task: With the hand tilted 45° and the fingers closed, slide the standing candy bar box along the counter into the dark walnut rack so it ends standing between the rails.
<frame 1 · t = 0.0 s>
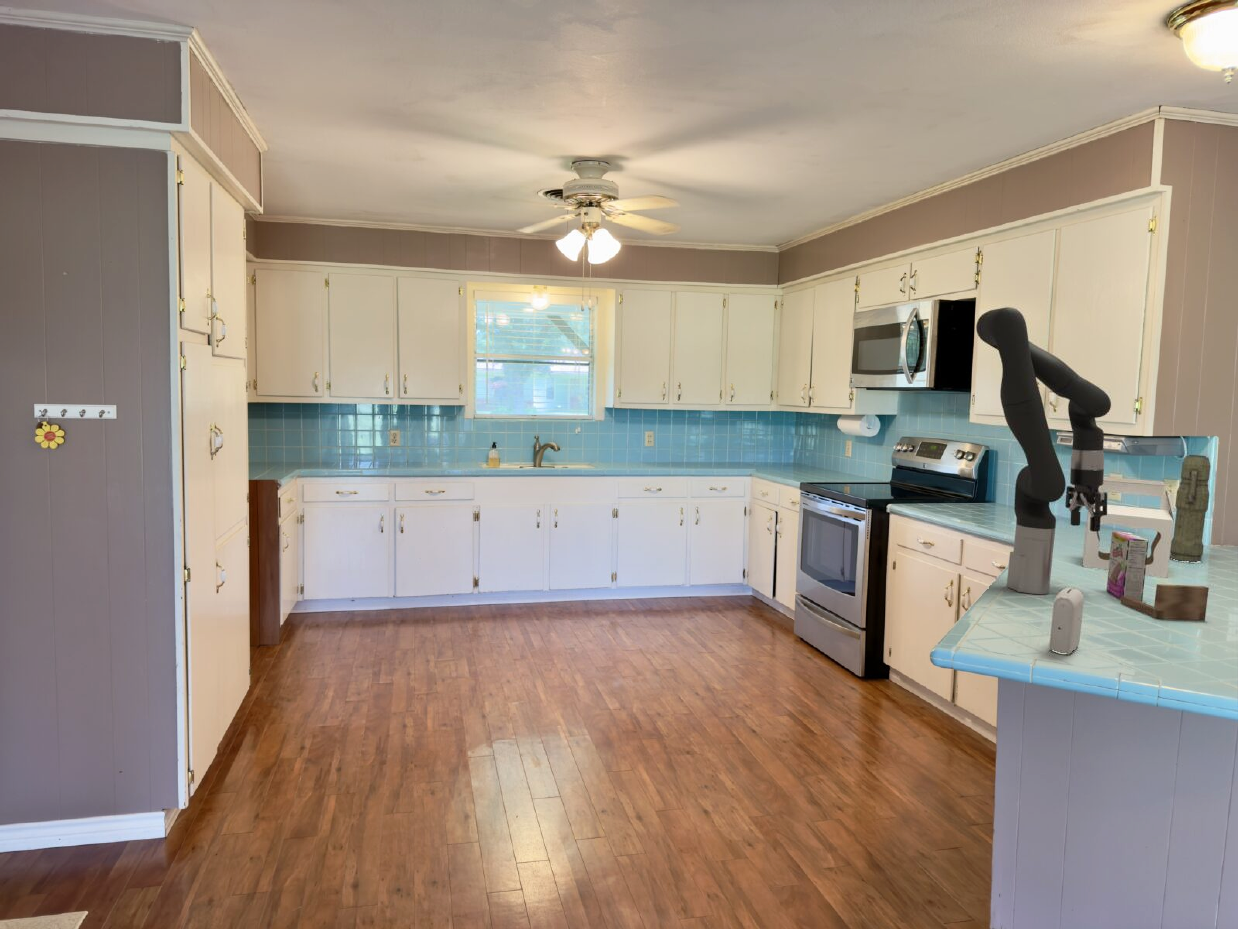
hand: (1084, 528, 214), 17 cm above the countertop, tool pointing down, fingers open, 8 cm apart
candy bar box: (1123, 597, 213), on the countertop
moai statue: (1185, 561, 269), on the countertop
gable box: (1123, 569, 250), on the countertop
walnut rack: (1161, 612, 198), on the countertop
photo printer: (1063, 650, 164), on the countertop
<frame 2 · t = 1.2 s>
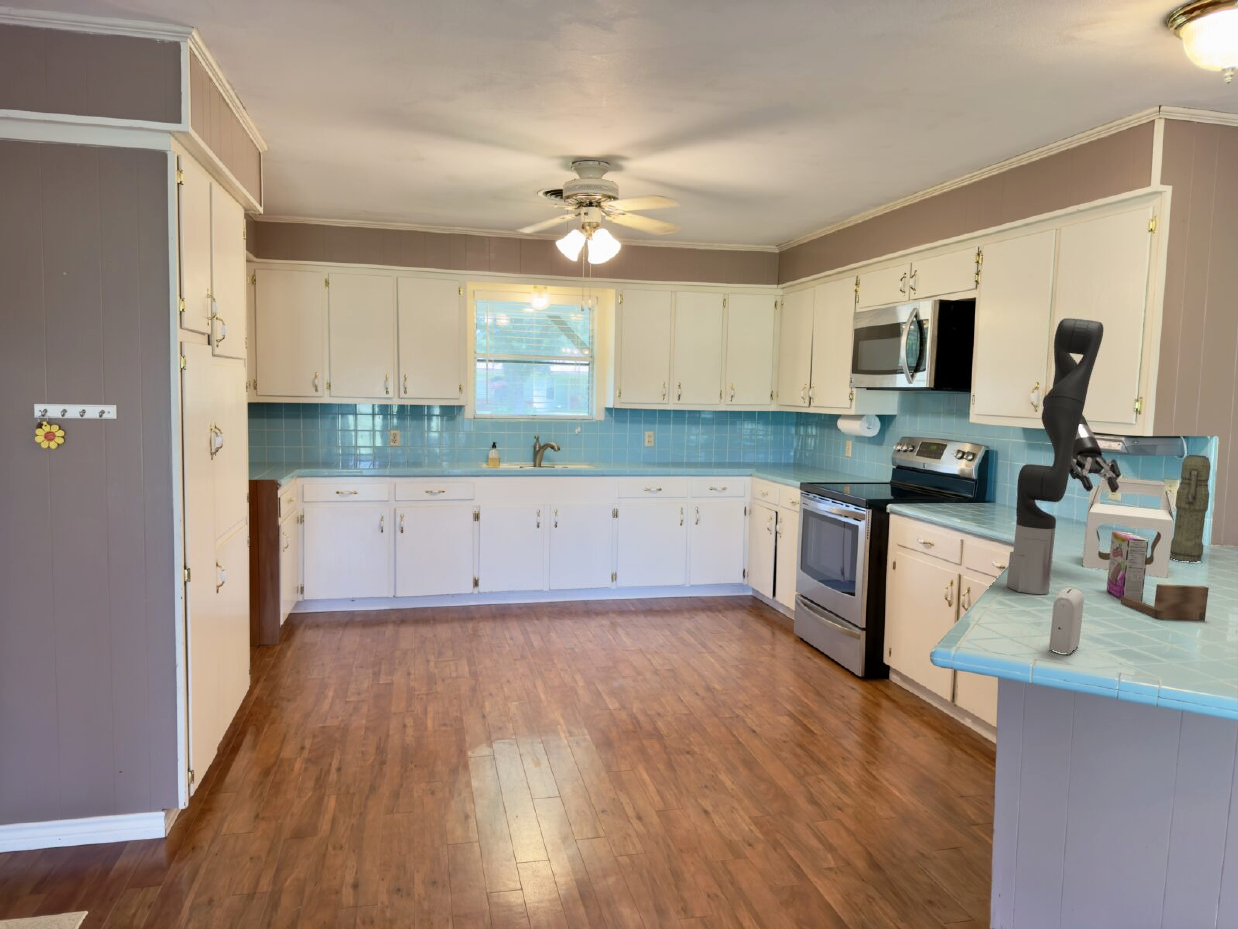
hand: (1102, 490, 223), 26 cm above the countertop, tool tilted 45°, fingers open, 6 cm apart
nothing on the countertop moved.
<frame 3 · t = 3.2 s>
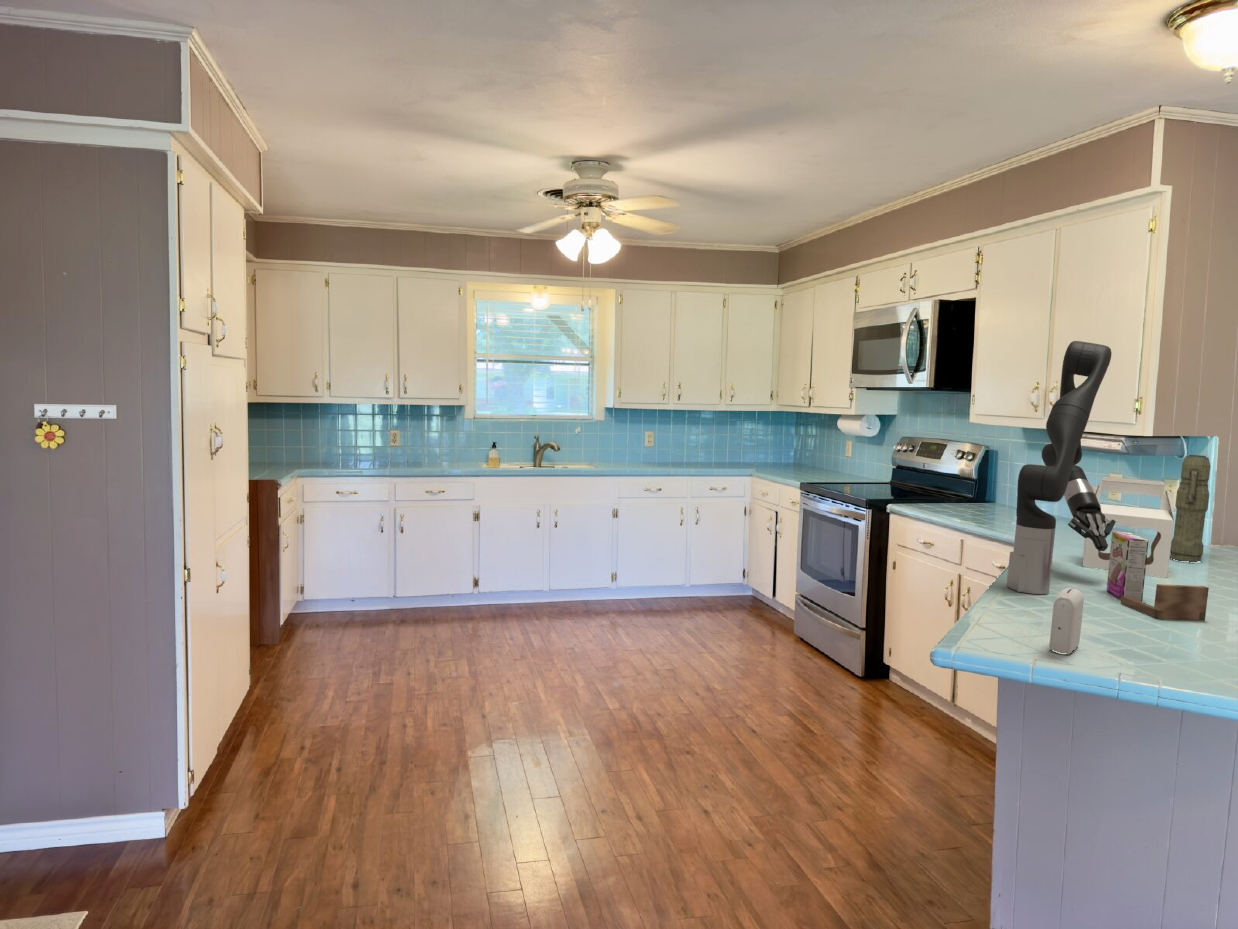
hand: (1103, 549, 222), 10 cm above the countertop, tool tilted 45°, fingers closed
nothing on the countertop moved.
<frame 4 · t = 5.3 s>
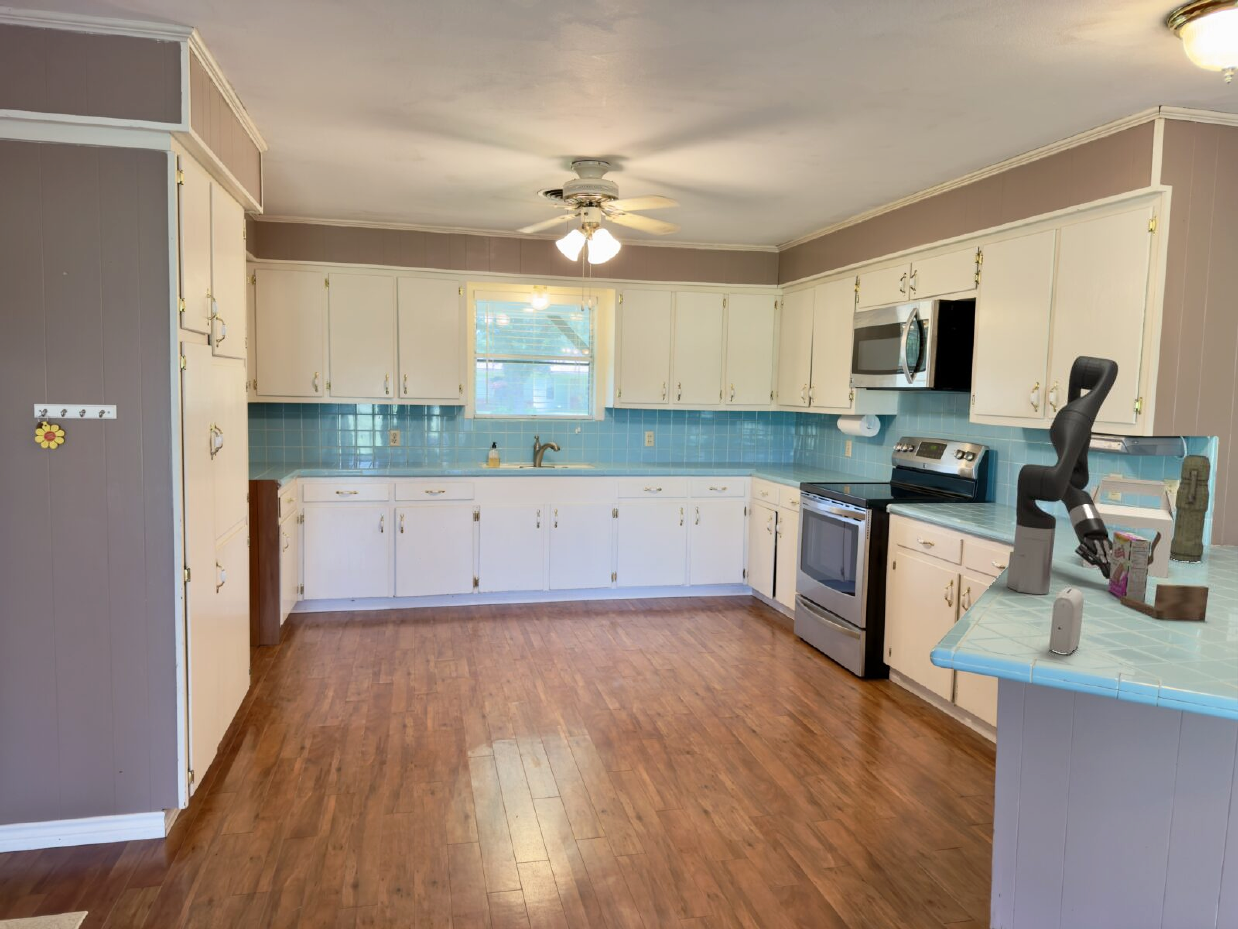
hand: (1110, 577, 218), 4 cm above the countertop, tool tilted 45°, fingers closed
candy bar box: (1125, 598, 212), on the countertop, touching gripper
everything else where it was.
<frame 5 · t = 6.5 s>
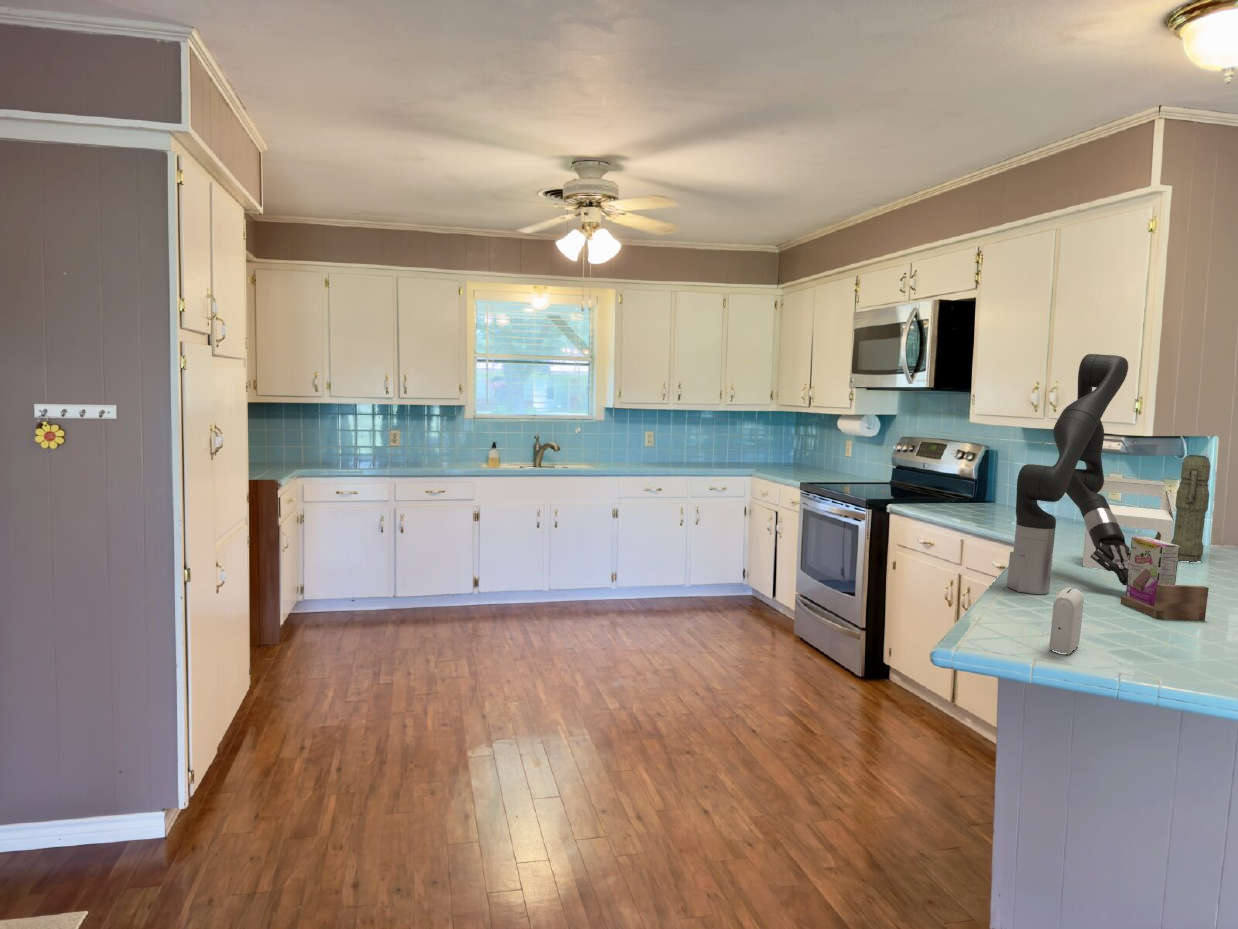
hand: (1128, 583, 211), 4 cm above the countertop, tool tilted 45°, fingers closed
candy bar box: (1147, 605, 205), on the countertop, touching gripper
everything else where it was.
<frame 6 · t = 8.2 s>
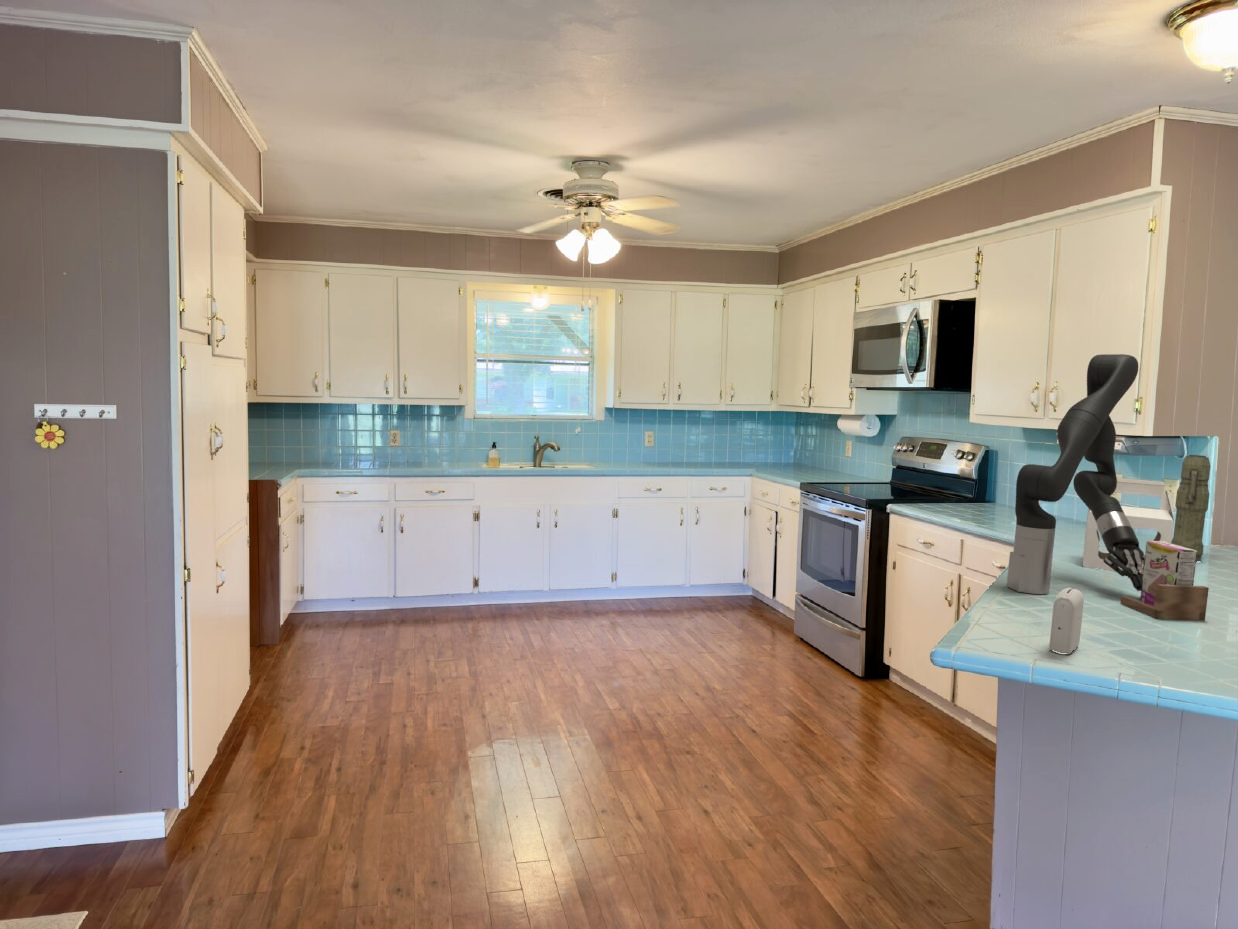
hand: (1142, 589, 205), 4 cm above the countertop, tool tilted 45°, fingers closed
candy bar box: (1163, 611, 200), resting in walnut rack, touching gripper
everything else where it was.
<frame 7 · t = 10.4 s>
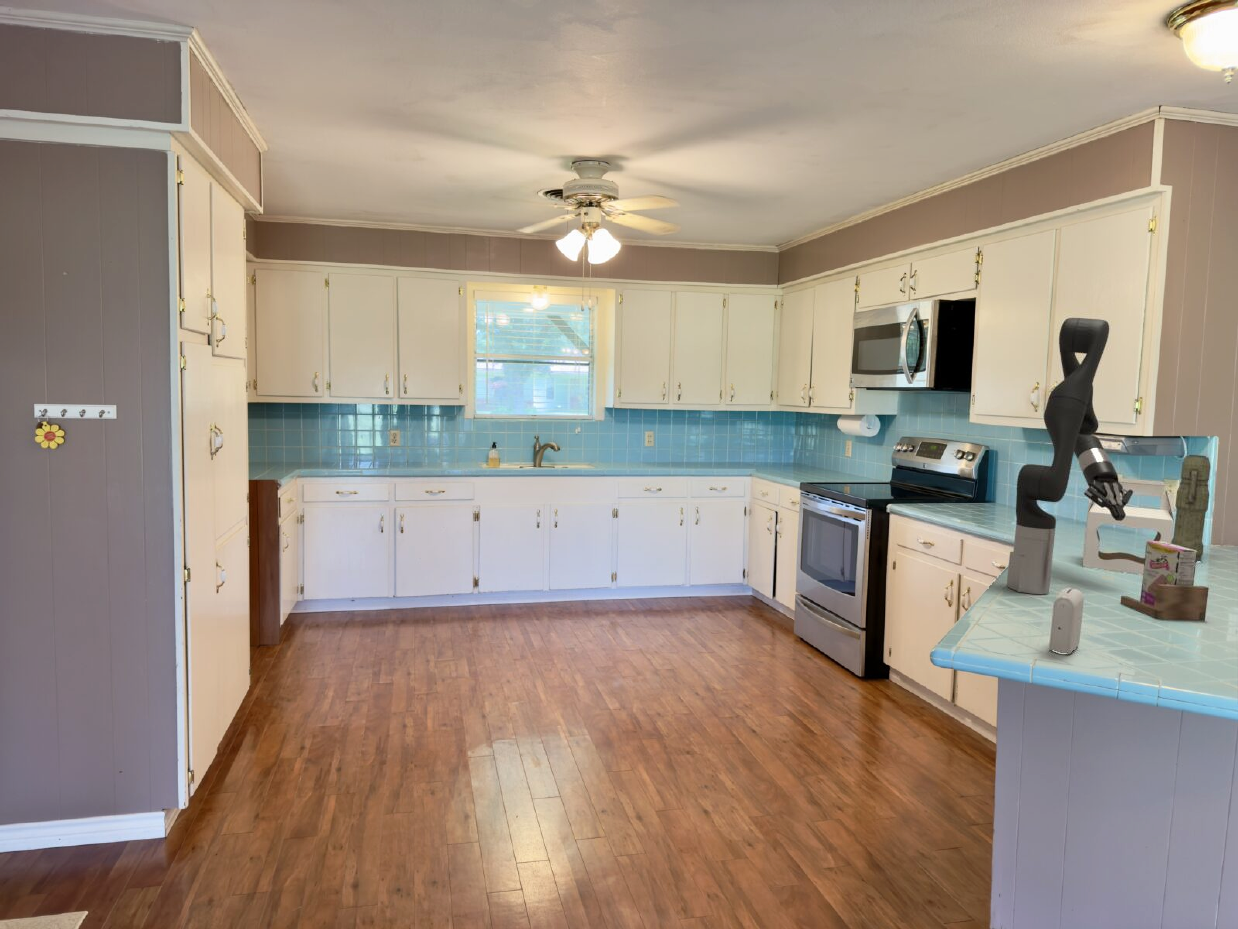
hand: (1120, 518, 215), 20 cm above the countertop, tool tilted 45°, fingers closed
candy bar box: (1163, 611, 200), resting in walnut rack
everything else where it was.
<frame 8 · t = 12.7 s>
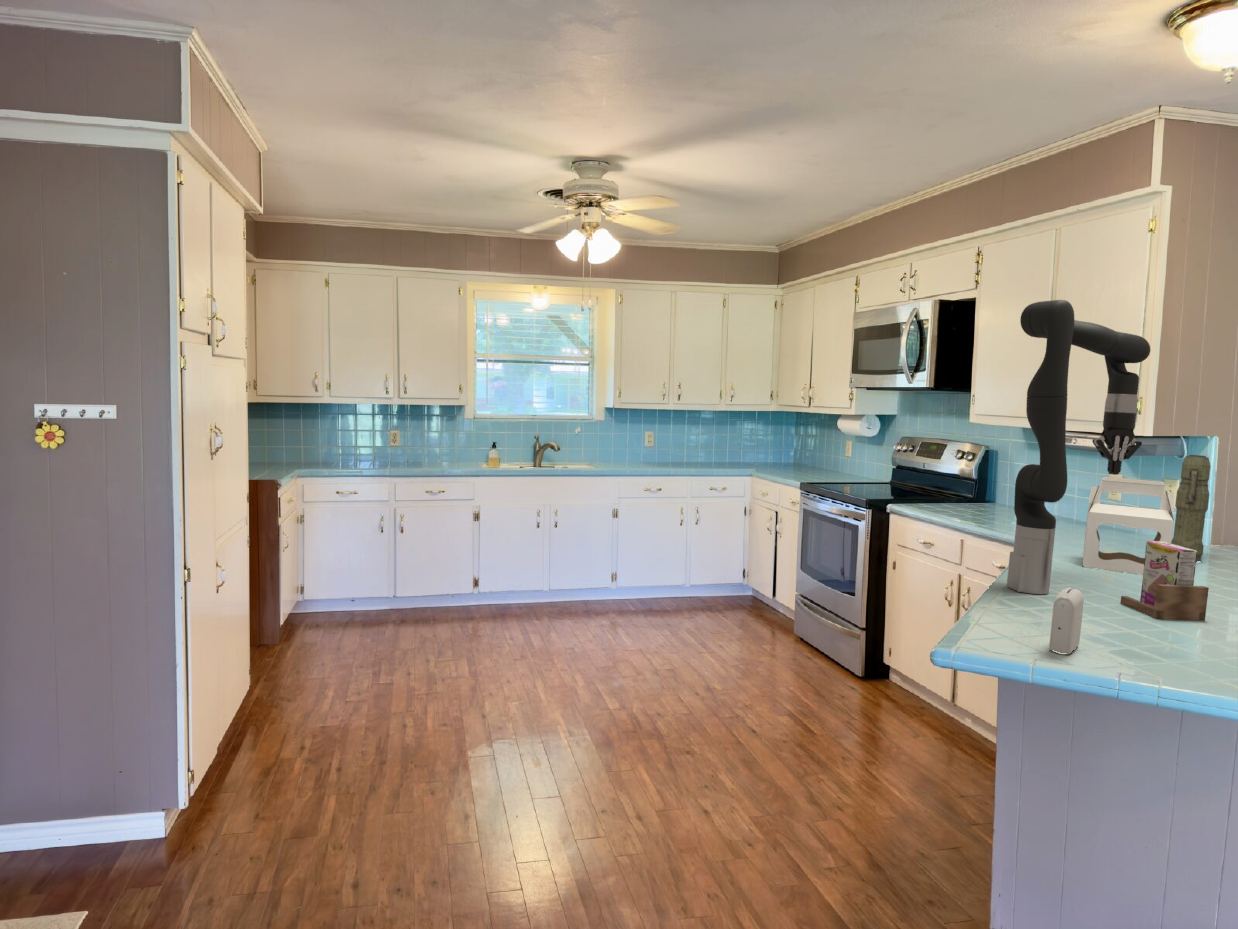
hand: (1113, 474, 223), 31 cm above the countertop, tool pointing down, fingers closed
nothing on the countertop moved.
at the end: candy bar box inside the target area on the walnut rack (2.4 cm from its centre), point 0.0 cm above the walnut rack's base; candy bar box tilted 0°; candy bar box moved 13.0 cm from its start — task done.
